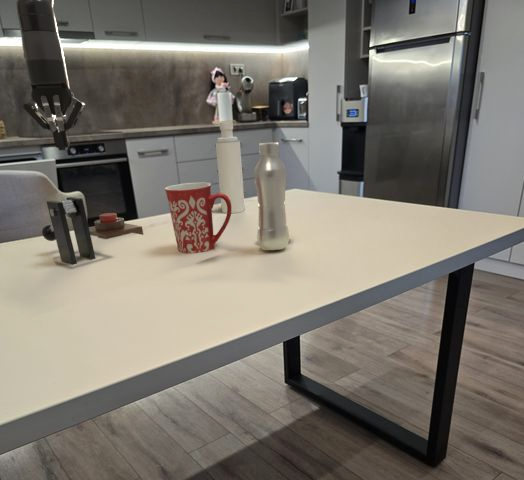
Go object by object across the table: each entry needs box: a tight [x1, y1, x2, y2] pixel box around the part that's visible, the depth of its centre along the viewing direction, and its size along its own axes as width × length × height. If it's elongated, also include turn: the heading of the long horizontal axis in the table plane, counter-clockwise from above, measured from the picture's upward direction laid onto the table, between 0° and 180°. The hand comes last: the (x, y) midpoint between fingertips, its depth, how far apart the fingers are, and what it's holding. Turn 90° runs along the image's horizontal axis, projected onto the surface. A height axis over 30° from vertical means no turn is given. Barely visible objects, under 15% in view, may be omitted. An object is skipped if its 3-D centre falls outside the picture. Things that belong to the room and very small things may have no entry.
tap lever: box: [41, 199, 77, 242], centre depth 95 cm, size 14×3×3 cm, turn 48°
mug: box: [164, 181, 232, 254], centre depth 95 cm, size 13×9×14 cm
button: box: [99, 212, 118, 222], centre depth 115 cm, size 4×4×2 cm
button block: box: [89, 216, 144, 240], centre depth 117 cm, size 12×10×4 cm
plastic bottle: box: [253, 142, 290, 251], centre depth 93 cm, size 6×7×20 cm
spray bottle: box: [215, 120, 246, 214], centre depth 133 cm, size 7×7×25 cm
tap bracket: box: [46, 196, 96, 266], centre depth 92 cm, size 10×8×13 cm
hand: (63, 149), depth 106 cm, fingers closed
